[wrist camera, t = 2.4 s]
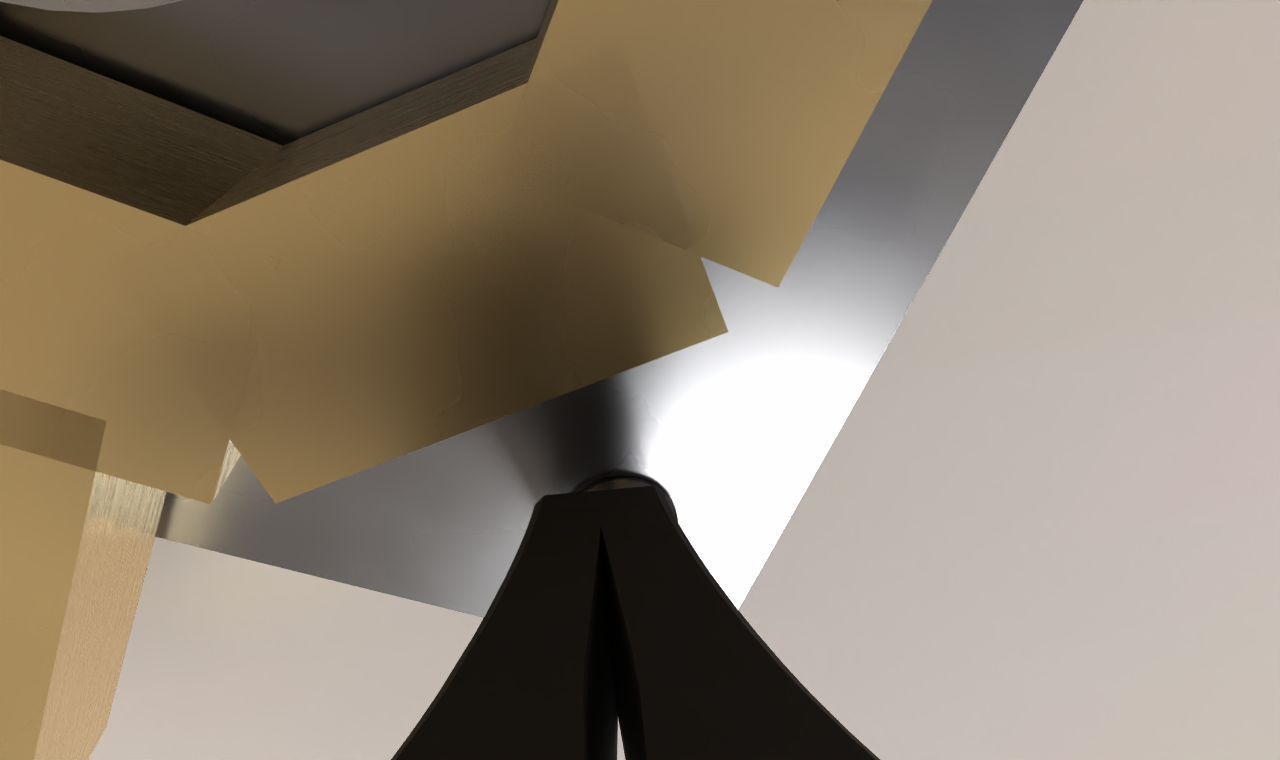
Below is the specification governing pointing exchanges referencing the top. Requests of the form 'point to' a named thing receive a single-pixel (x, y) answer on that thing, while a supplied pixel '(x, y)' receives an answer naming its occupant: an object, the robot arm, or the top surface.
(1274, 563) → the top surface
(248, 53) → the flange plate
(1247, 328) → the top surface
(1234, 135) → the top surface
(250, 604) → the top surface
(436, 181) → the handled octagonal ring
